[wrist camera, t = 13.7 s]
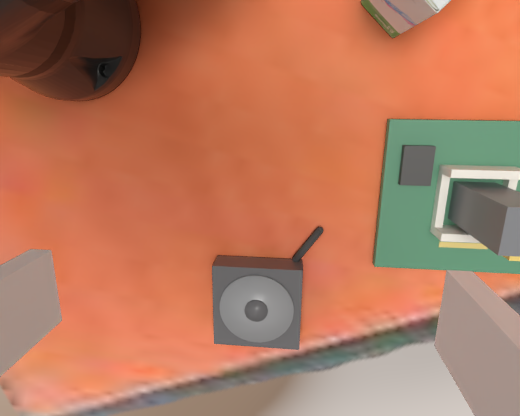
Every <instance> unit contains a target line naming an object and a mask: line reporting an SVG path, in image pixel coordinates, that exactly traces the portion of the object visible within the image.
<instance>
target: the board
mask: <svg viewBox="0 0 520 416" xmlns="http://www.w3.org/2000/svg"><path fill="white" fill-rule="evenodd" d="M454 181H464V182H495V183H498V184H500V185H503V186H505V187H508V188H511V189H513V190H516V191H518V192H520V121H489V120H421V119H388V120H387V129H386V139H385V149H384V159H383V168H382V178H381V188H380V197H379V207H378V217H377V226H376V236H375V246H374V256H373V264H374V267H392V268H412V269H432V270H457V271H473V272H492V273H512V274H520V261H509V260H507V259H506V258H505V257H503V256H498V255H497V254H495V253H494V252H493V251H491V250H490V249H488V248H487V247H486V246H484V245H483V244H482V243H480V242H479V241H478V240H476V239H475V238H474V237H472V236H471V235H470V234H468V233H467V232H465V231H464V230H463V229H461V228H460V227H459V226H457V225H456V224H455V223H453V222H452V221H451V220H449V219H448V214H449V208H450V201H451V195H452V189H453V182H454Z"/></svg>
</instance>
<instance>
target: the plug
mask: <svg viewBox="0 0 520 416" xmlns="http://www.w3.org/2000/svg"><path fill="white" fill-rule="evenodd" d="M448 219H449V220H451V221H452V222H453V223H455V224H456V225H457V226H459V227H460V228H461V229H463V230H464V231H465V232H467V233H468V234H470V235H471V236H472V237H474V238H475V239H476V240H478V241H479V242H480V243H482V244H483V245H484V246H486V247H487V248H488V249H490V250H491V251H493V252H494V253H495V254H497V255H498V256H503V257H505V258H506V259H507V260H509V261H520V192H518V191H516V190H513V189H511V188H508V187H505V186H503V185H500V184H498V183H495V182H464V181H454V182H453V189H452V195H451V201H450V208H449V214H448Z"/></svg>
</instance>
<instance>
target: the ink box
mask: <svg viewBox="0 0 520 416" xmlns="http://www.w3.org/2000/svg"><path fill="white" fill-rule="evenodd" d="M450 1H451V0H361V4H362V5H363V7H364V8H365V9H366V10H367V11H368V12H369V13H370V14H371V15H372V17H373V18H374V19H375V20H376V21H377V22H378V23H379V24H380V25H381V27H382V28H383V29H384V30H385V31H386V32H387V33H388V34H389V35H390V36H391V37H392V38H395V37H396V36H398V35H400V34H401V33H403V32H405V31H407V30H409V29H410V28H412V27H414V26H415V25H417V24H419V23H421V22H423V21H424V20H426V19H428V18H430V17H431V16H433V15H435V14H436V13H438V12H439V11H440V10H441V9H442V8H444V7H445V6H446V5H447V4H448V3H449V2H450Z"/></svg>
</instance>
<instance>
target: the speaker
mask: <svg viewBox="0 0 520 416" xmlns="http://www.w3.org/2000/svg"><path fill="white" fill-rule="evenodd" d="M302 278H303V262H302V259H300V260H299V261H298V262H294V261H293V260H292V259H283V258H263V257H243V256H222V255H218V256H217V258H216V260H215V261H214V263H213V265H212V280H213V319H214V344H226V345H240V346H254V347H268V348H282V349H296V350H299V341H300V320H301V299H302Z"/></svg>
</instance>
